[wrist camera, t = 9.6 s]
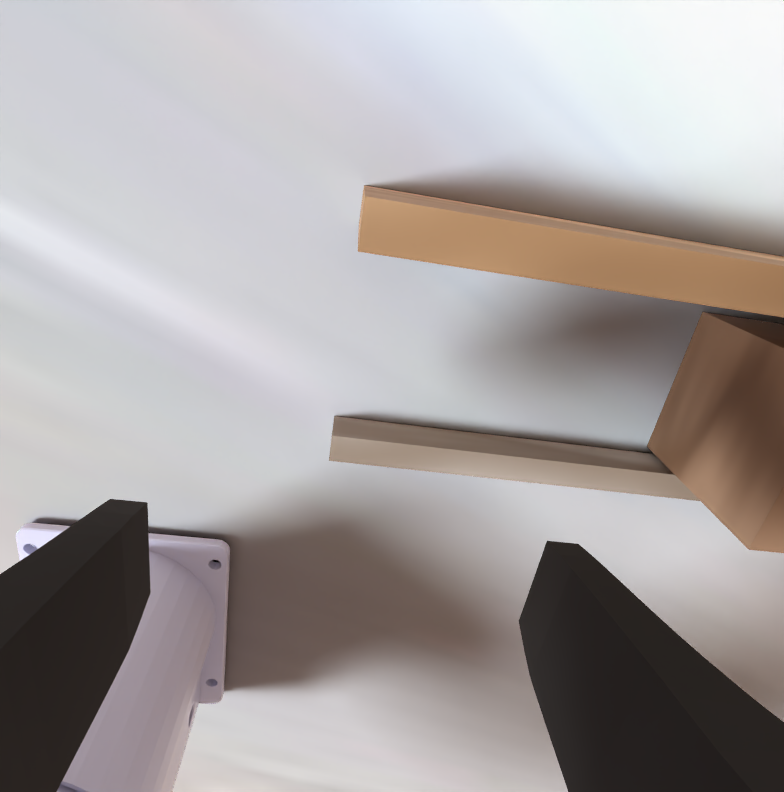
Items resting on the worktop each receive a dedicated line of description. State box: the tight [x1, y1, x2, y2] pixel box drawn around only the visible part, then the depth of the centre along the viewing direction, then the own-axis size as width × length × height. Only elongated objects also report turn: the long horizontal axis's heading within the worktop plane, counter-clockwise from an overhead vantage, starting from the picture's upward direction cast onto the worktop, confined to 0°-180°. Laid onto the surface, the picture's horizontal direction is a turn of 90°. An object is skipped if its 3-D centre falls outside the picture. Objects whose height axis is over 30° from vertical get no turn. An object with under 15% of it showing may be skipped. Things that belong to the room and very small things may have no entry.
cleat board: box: [329, 185, 784, 501], centre depth 17 cm, size 9×19×5 cm, turn 81°
